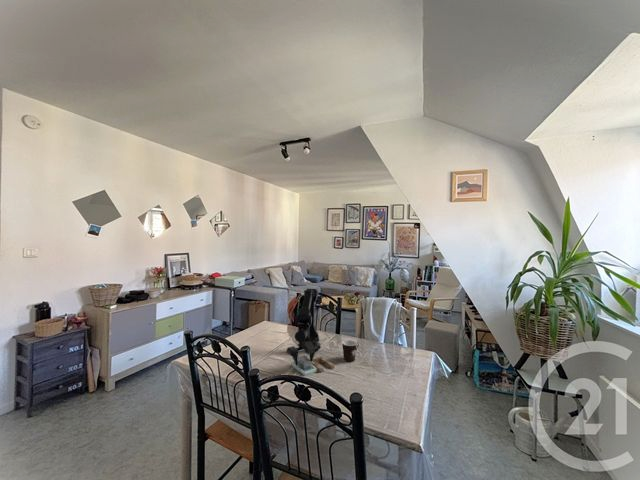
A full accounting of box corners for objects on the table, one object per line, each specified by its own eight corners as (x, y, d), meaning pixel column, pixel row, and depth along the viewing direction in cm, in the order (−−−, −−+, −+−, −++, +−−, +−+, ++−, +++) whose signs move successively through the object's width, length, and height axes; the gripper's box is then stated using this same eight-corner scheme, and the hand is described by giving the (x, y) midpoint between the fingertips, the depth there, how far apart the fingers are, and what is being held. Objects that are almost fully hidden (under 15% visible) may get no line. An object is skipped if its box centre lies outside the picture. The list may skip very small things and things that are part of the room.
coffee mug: (345, 363, 159) (345, 346, 159) (340, 357, 168) (340, 340, 168) (363, 361, 163) (363, 344, 162) (357, 355, 171) (358, 339, 171)
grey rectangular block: (297, 365, 156) (297, 356, 156) (304, 364, 158) (304, 355, 158) (304, 371, 149) (304, 362, 149) (310, 370, 151) (310, 360, 151)
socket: (307, 363, 159) (307, 360, 159) (321, 359, 164) (321, 356, 164) (320, 372, 149) (320, 369, 149) (334, 368, 154) (334, 364, 154)
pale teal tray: (291, 365, 157) (291, 362, 157) (303, 362, 161) (303, 358, 161) (304, 375, 145) (304, 372, 145) (317, 371, 150) (317, 368, 150)
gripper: (296, 343, 141) (296, 374, 142) (326, 336, 152) (326, 364, 152) (286, 337, 150) (286, 365, 151) (315, 330, 161) (315, 357, 161)
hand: (303, 363), depth 153 cm, fingers open, 9 cm apart
